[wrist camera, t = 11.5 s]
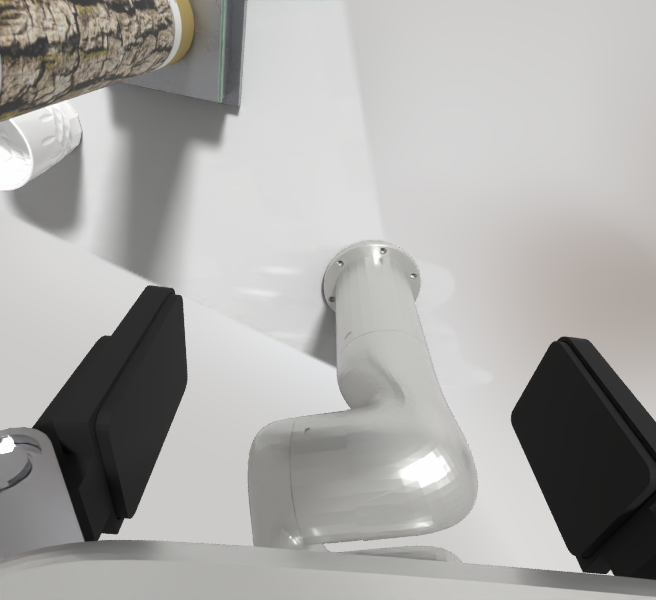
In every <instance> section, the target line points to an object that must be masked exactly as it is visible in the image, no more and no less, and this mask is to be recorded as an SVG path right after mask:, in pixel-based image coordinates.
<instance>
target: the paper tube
mask: <svg viewBox="0 0 656 600" xmlns="http://www.w3.org/2000/svg"><path fill="white" fill-rule="evenodd" d="M193 35H194V18H193V13H192V9H191V6H190V3H189V1H188V0H0V122H3V121H6V120H9V119H12V118H14V117H17V116H20V115H23V114H26V113H29V112H32V111H35V110H38V109H41V108H44V107H47V106H50V105H53V104H56V103H59V102H62V101H65V100H68V99H71V98H74V97H77V96H80V95H83V94H86V93H89V92H92V91H95V90H98V89H101V88H104V87H107V86H110V85H113V84H116V83H119V82H122V81H125V80H128V79H131V78H134V77H137V76H139V75H142V74H145V73H148V72H151V71H154V70H157V69H160V68H162V67H165V66H168V65H171V64H173V63H175V62H177V61H179V60H180V59H181V58H182V57H183V56H184V55H185V54H186V52H187V51H188V49H189V48H190V45H191V43H192V39H193Z"/></svg>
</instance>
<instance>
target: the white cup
mask: <svg viewBox="0 0 656 600" xmlns="http://www.w3.org/2000/svg"><path fill="white" fill-rule="evenodd" d="M81 133H82V129H81V125H80V121H79V118H78V115H77V114H76V112H75V111H74V109H73V108H72V106H71V105H70V104H69V102H68V101H67V100H65V101H62V102H59V103H56V104H53V105H50V106H47V107H44V108H41V109H38V110H35V111H32V112H29V113H26V114H23V115H20V116H17V117H14V118H12V119H9V120H6V121H3V122H0V191H11V190H15V189H18V188H20V187H22V186H24V185H25V184H27V183H28V182H29V181H31V180H32V179H34V178H36V177H37V176H39V175H40V174H42V173H43V172H45V171H46V170H48V169H49V168H50V167H52V166H53V165H55V164H56V163H57V162H59V161H60V160H62V159H63V158H64V157H65V156H66V155H67V154H69V153H70V152H72V151H73V150H74V149H75V148H76V147H77V146H78V145H79V143H80V138H81Z"/></svg>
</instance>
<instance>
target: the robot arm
mask: <svg viewBox="0 0 656 600" xmlns="http://www.w3.org/2000/svg"><path fill="white" fill-rule="evenodd" d="M381 248H384V249H381ZM339 261H341V262H339ZM413 273H414V274H413ZM420 281H421V280H420V275H419V271H418V268H417V265H416V264H415V262H414V260H413V259H412V257H411V256H410V255H409V254H408V253H407V252H405V251H404V250H402V249H401V248H400V247H397V246H395V245H393V244H390V243H385V242H378V241H370V242H362V243H359V244H355V245H352V246H351V247H349V248H347V249H345V250H343V251H342V252H341V253H339V254H338V255H337V256H336V257H335V258H334V259H333V260H332V261H331V263H330V264H329V266H328V268H327V270H326V273H325V276H324V295H325V299H326V301H327V303H328V305H329V306H330V308H331V309H332V310H333V312H335V313H336V357H337V380H338V385H339V388H340V391H341V394H342V396H343V397H344V399H345V401H346V403H347V404H348V405H349V407H350V408H351V409H349V410H347V411H340V412H332V413H325V414H317V415H310V416H303V417H297V418H291V419H285V420H280V421H276V422H273V423H271V424H268V425H267V426H265V427H264V428H262V429H261V430H260V431H259V432H258V434H257V435H256V437H255V438H254V440H253V443H252V446H251V449H250V454H249V461H248V492H249V504H250V515H251V523H252V533H253V542H254V547H251V546H237V545H220V544H203V543H186V542H169V541H145V540H144V541H143V540H137V541H136V540H134V541H133V540H104V541H103V540H102V541H98V539H99V537H100V535H101V533H106V534H118V532H119V529H120V527H121V525H122V523H123V520H124V518H129V519H131V518H132V517H133V516H134V514H135V512H136V510H137V507H138V504H139V502H140V500H141V497H142V495H143V492H144V490H145V487H146V485H147V483H148V480H149V478H150V475H151V473H152V470H153V468H154V465H155V463H156V460H157V458H158V455H159V453H160V451H161V448H162V446H163V443H164V441H165V438H166V436H167V433H168V431H169V428H170V426H171V423H172V421H173V419H174V416H175V414H176V411H177V409H178V406H179V404H180V401H181V399H182V396H183V394H184V391H185V388H186V385H187V361H186V346H185V329H184V313H183V299H182V296H181V295H175V291H174V289H173V288H167V287H158V286H150V285H149V286H147V287H146V288H145V290H144V291H143V292H142V294H141V295H140V296H139V298H138V299H137V301H136V302H135V304H134V305H133V306H132V308H131V309H130V310H129V312H128V313H127V315H126V316H125V317H124V319H123V320H122V322H121V323H120V324H119V326H118V327H117V329H116V330H115V331H114V333H113V334H112V335H111V336H103V337H101V338H100V339H99V340H98V341H97V342H96V343H95V345H94V346H93V347H92V349H91V350H90V351H89V353H88V354H87V355H86V357H85V358H84V359H83V361H82V362H81V363H80V365H79V366H78V367H77V369H76V370H75V371H74V373H73V374H72V375H71V377H70V378H69V379H68V381H67V382H66V384H65V385H64V386H63V387H62V389H61V390H60V391H59V393H58V394H57V395H56V397H55V398H54V399H53V401H52V402H51V403H50V405H49V406H48V407H47V409H46V410H45V411H44V413H43V414H42V416H41V417H40V418H39V419H38V421H37V422H36V424H35V425H34V426H33V427H32V428H26V427H21V428H9V429H5V430H2V431H0V600H656V422H655V421H654V419H653V418H652V417H651V416H650V414H649V413H648V412H647V411H646V409H645V408H644V407H643V406H642V405H641V403H640V402H639V401H638V400H637V399H636V397H635V396H634V395H633V394H632V392H631V391H630V390H629V389H628V387H627V386H626V385H625V384H624V382H623V381H622V380H621V379H620V378H619V377H618V375H617V374H616V373H615V372H614V370H613V369H612V368H611V367H610V365H609V364H608V363H607V362H606V361H605V359H604V358H603V357H602V356H601V354H600V353H599V352H598V351H597V349H596V348H595V347H594V346H593V344H592V343H591V342H590V341H588V340H586V339H579V338H572V337H561V338H560V339H558V340H557V341H555V342H553V343H552V344H551V345H550V346H549V348H548V350H547V352H546V353H545V355H544V357H543V358H542V360H541V362H540V364H539V365H538V367H537V369H536V371H535V372H534V374H533V376H532V378H531V380H530V381H529V383H528V385H527V386H526V388H525V390H524V392H523V393H522V395H521V397H520V399H519V400H518V402H517V404H516V406H515V408H514V410H513V411H512V414H511V423H512V426H513V428H514V430H515V433H516V435H517V437H518V439H519V441H520V444H521V446H522V448H523V450H524V452H525V455H526V457H527V459H528V462H529V464H530V466H531V468H532V470H533V473H534V475H535V477H536V479H537V482H538V484H539V486H540V488H541V490H542V493H543V495H544V497H545V500H546V502H547V504H548V506H549V508H550V511H551V513H552V515H553V517H554V520H555V522H556V524H557V526H558V528H559V531H560V533H561V535H562V537H563V540H564V542H565V544H566V546H567V548H568V550H569V551H570V553H571V554H572V555H574V556H576V558H577V560H578V562H579V565H580V567H581V569H582V571H583V572H587V573H598V574H607V573H608V572H609V571H610V570H612V572H613V574H614V576H609V575H597V574H586V573H574V572H562V571H550V570H539V569H528V568H516V567H505V566H504V567H503V566H492V565H479V564H467V563H462V561H461V560H460V559H459V558H458V557H457V556H456V555H455V554H453V553H452V552H450V551H447V550H445V549H443V548H437V547H430V546H406V547H392V548H381V549H370V550H360V551H349V552H330V551H328V550H327V549H326V548H325V546H324V545H323V544H324V543H337V542H348V541H358V540H363V541H366V540H367V541H368V540H377V539H387V538H397V537H407V536H418V535H424V534H429V533H433V532H437V531H441V530H444V529H447V528H450V527H452V526H454V525H456V524H457V523H459V522H460V521H462V520H463V519H464V518H465V517H466V516H467V515H468V514H469V513H470V511H471V510H472V508H473V506H474V504H475V501H476V497H477V491H478V481H477V471H476V467H475V463H474V460H473V456H472V453H471V450H470V448H469V445H468V443H467V441H466V439H465V436H464V434H463V432H462V431H461V429H460V427H459V425H458V423H457V422H456V420H455V418H454V416H453V414H452V412H451V410H450V408H449V406H448V404H447V402H446V400H445V397H444V395H443V393H442V390H441V387H440V385H439V382H438V379H437V376H436V373H435V370H434V367H433V363H432V360H431V356H430V353H429V349H428V346H427V342H426V339H425V336H424V332H423V329H422V325H421V322H420V318H419V315H418V312H417V308H416V305H415V301H416V299H417V297H418V294H419V291H420Z"/></svg>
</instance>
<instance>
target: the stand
mask: <svg viewBox="0 0 656 600" xmlns="http://www.w3.org/2000/svg"><path fill="white" fill-rule="evenodd" d="M188 1H189V3H190V6H191V9H192V13H193V18H194V35H193V39H192V43H191V45H190V48H189V49H188V51H187V52H186V54H185V55H184V56H183V57H182V58H181V59H180V60H179V61H177V62H175V63H173V64H171V65H168V66H165V67H162V68H160V69H157V70H154V71H151V72H148V73H145V74H142V75H139V76H137V77H134V78H131V79H128V80H125V81H122V82H121V83H125V84H130V85H135V86H140V87H145V88H150V89H155V90H160V91H164V92H169V93H174V94H179V95H184V96H189V97H194V98H199V99H204V100H208V101H213V102H218V103H223V104H228V105H233V106H239V105H240V104H241V88H242V72H243V57H244V41H245V26H246V10H247V0H188Z"/></svg>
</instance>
